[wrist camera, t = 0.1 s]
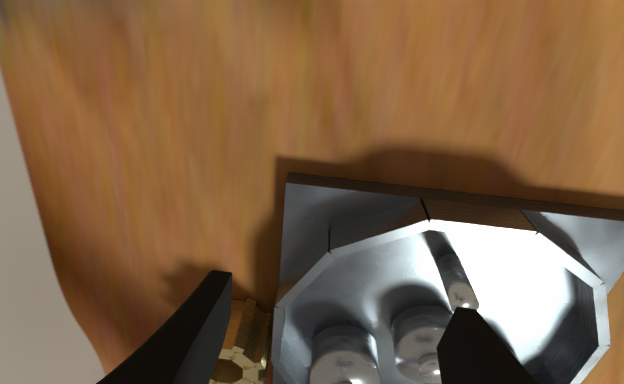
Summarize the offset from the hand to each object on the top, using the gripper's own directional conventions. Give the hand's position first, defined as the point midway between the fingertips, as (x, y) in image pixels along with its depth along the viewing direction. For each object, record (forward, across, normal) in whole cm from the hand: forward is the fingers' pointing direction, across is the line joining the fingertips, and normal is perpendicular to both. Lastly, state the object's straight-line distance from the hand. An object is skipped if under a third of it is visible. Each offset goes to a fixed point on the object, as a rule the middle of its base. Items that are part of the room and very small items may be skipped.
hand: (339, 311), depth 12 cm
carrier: (+10, -8, +10) cm, 16 cm away
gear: (+10, +5, +14) cm, 18 cm away
